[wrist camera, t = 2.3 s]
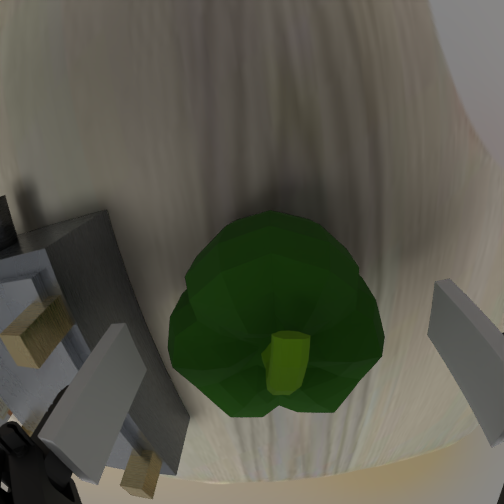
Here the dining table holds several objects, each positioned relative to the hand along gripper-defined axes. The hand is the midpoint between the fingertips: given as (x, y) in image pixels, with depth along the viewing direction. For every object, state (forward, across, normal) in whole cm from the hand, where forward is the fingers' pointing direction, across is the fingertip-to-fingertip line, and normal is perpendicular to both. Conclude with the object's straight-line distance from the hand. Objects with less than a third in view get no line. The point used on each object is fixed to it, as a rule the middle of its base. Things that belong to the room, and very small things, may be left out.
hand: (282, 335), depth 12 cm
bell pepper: (+6, 0, 0) cm, 6 cm away
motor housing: (+6, -16, -2) cm, 17 cm away
